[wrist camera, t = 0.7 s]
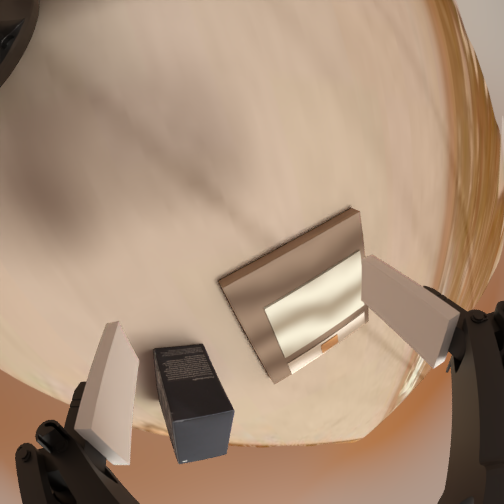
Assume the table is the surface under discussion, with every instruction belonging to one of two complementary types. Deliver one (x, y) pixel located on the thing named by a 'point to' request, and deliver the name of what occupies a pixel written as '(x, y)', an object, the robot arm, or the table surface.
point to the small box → (192, 403)
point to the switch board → (302, 295)
